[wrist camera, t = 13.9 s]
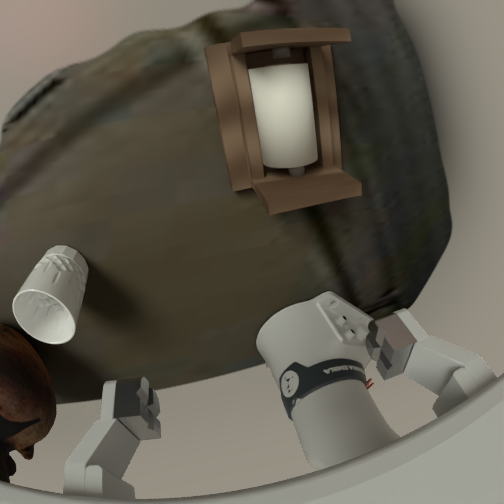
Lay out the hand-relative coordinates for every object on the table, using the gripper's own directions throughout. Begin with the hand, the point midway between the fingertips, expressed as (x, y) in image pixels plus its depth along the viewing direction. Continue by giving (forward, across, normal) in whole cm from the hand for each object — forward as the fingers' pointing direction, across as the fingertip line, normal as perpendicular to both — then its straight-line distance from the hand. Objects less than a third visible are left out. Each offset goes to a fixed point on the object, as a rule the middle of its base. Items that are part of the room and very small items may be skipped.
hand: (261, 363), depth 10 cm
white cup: (+26, +21, +8) cm, 35 cm away
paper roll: (+25, -9, -5) cm, 27 cm away
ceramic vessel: (+26, +39, +20) cm, 51 cm away
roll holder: (+26, -9, -5) cm, 28 cm away
